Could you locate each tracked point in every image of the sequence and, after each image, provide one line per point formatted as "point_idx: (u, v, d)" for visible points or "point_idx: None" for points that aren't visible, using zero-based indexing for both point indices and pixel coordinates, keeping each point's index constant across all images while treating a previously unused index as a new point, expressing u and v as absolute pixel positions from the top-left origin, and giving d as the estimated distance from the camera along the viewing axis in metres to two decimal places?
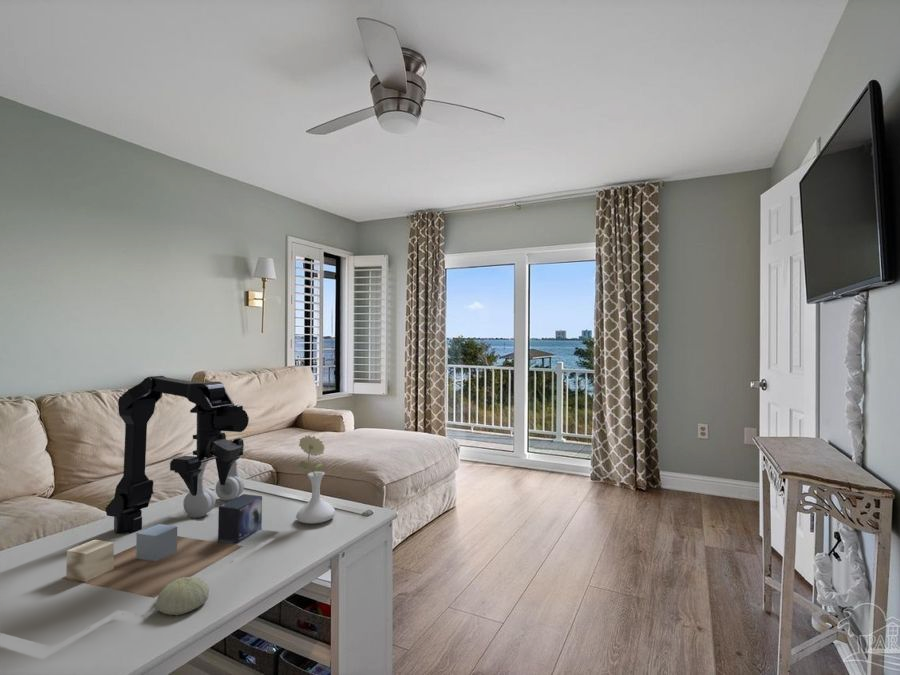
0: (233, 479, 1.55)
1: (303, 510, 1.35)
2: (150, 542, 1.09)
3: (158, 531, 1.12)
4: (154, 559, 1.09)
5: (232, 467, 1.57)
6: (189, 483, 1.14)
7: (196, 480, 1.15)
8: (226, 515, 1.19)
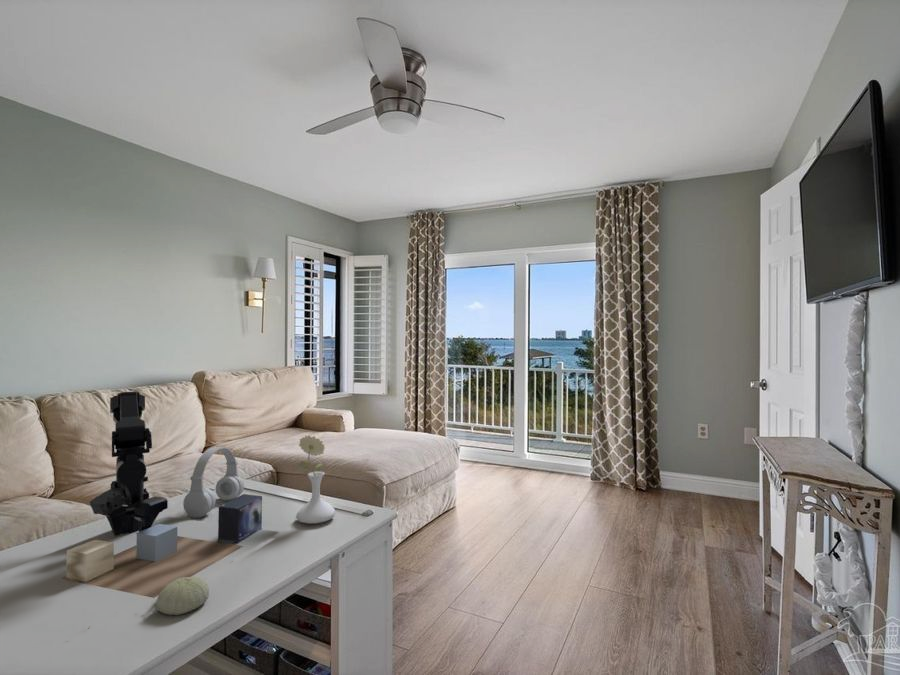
0: (233, 479, 1.55)
1: (303, 510, 1.35)
2: (150, 542, 1.09)
3: (158, 531, 1.12)
4: (154, 559, 1.09)
5: (232, 467, 1.57)
6: None
7: (110, 521, 1.15)
8: (226, 515, 1.19)
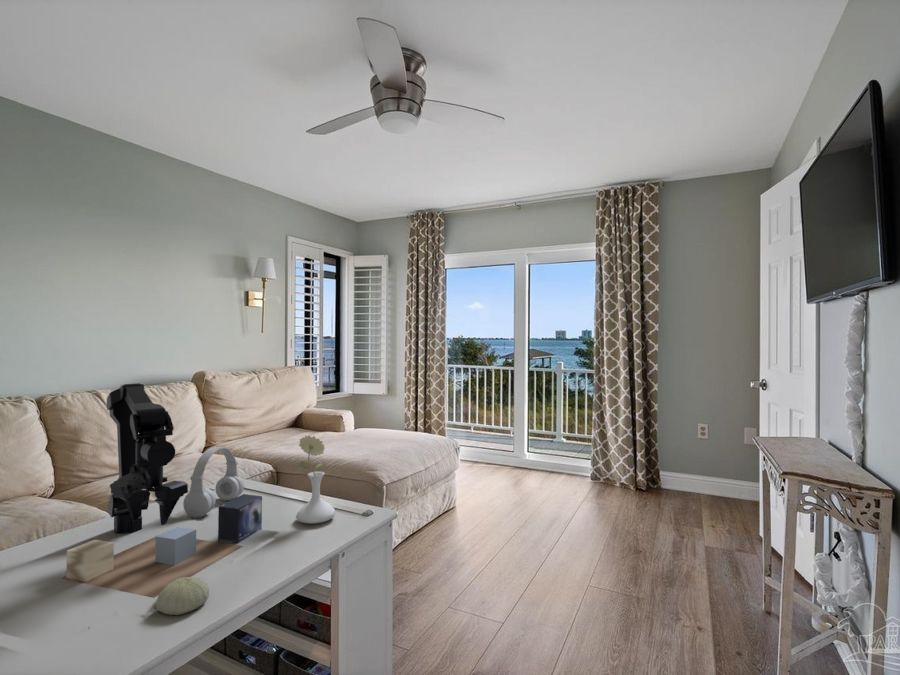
0: (233, 479, 1.55)
1: (303, 510, 1.35)
2: (169, 557, 1.07)
3: (184, 552, 1.09)
4: (156, 560, 1.08)
5: (232, 467, 1.57)
6: None
7: (128, 505, 1.14)
8: (226, 515, 1.19)
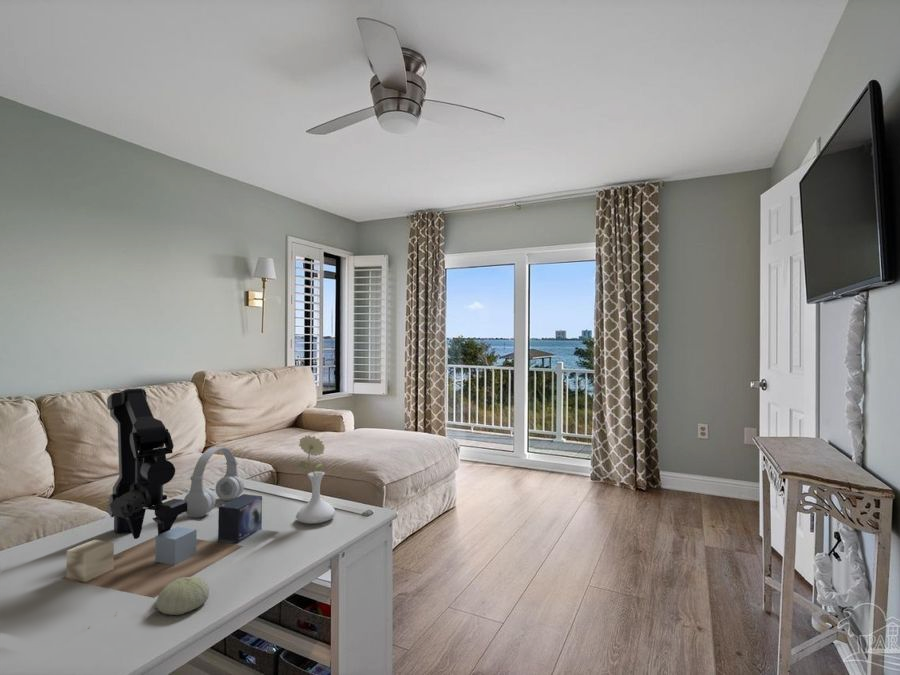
0: (233, 479, 1.55)
1: (303, 510, 1.35)
2: (169, 557, 1.07)
3: (184, 552, 1.09)
4: (156, 560, 1.08)
5: (232, 467, 1.57)
6: None
7: (130, 523, 1.13)
8: (226, 515, 1.19)
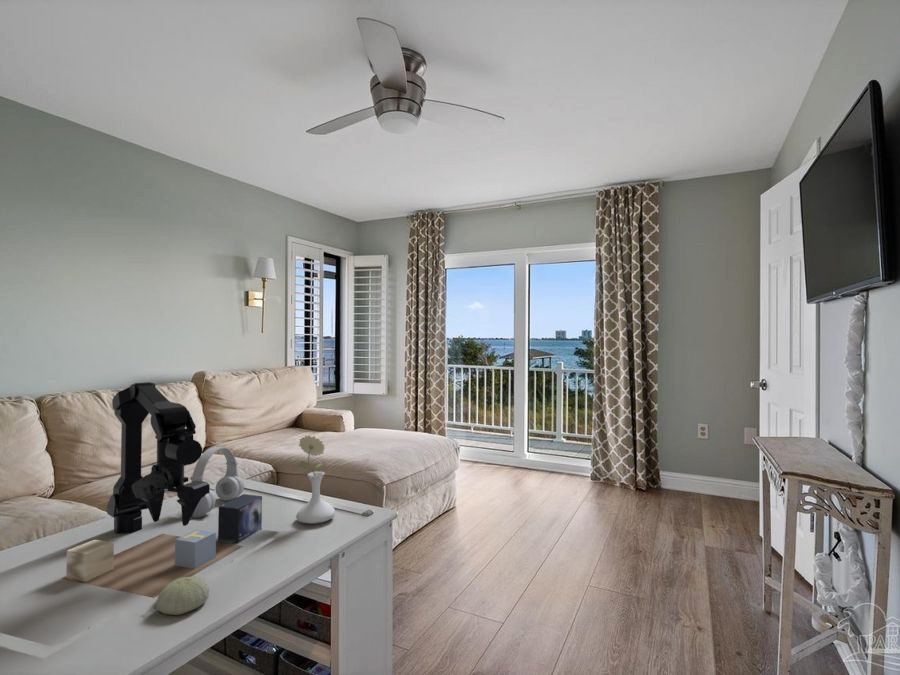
0: (233, 479, 1.55)
1: (303, 510, 1.35)
2: (180, 559, 1.06)
3: None
4: (176, 541, 1.07)
5: (232, 467, 1.57)
6: None
7: (149, 506, 1.12)
8: (226, 515, 1.19)
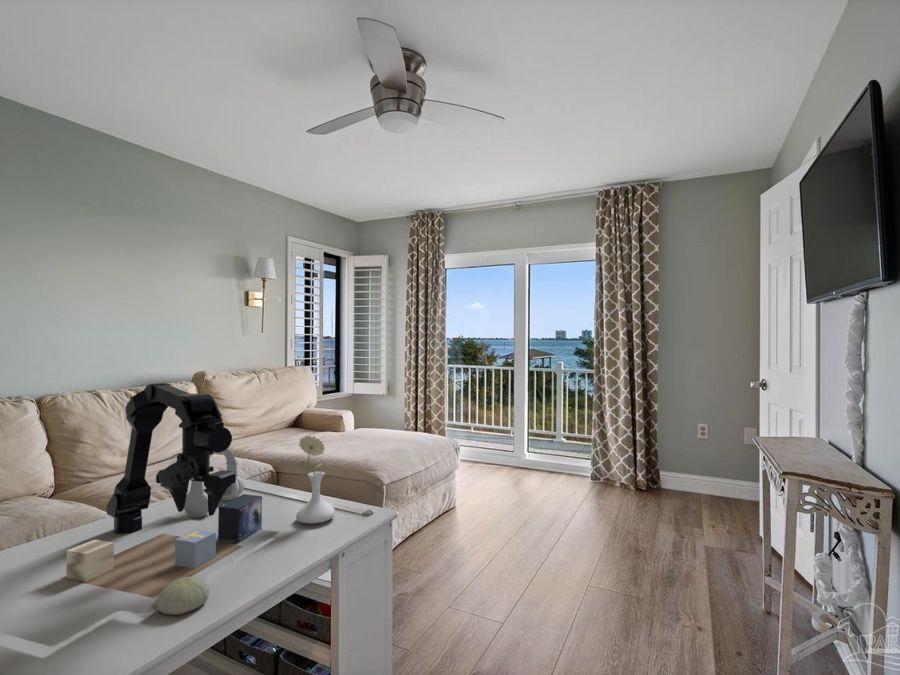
0: None
1: (303, 510, 1.35)
2: (180, 559, 1.06)
3: None
4: (176, 541, 1.07)
5: (232, 467, 1.57)
6: None
7: (174, 496, 1.09)
8: (226, 515, 1.19)
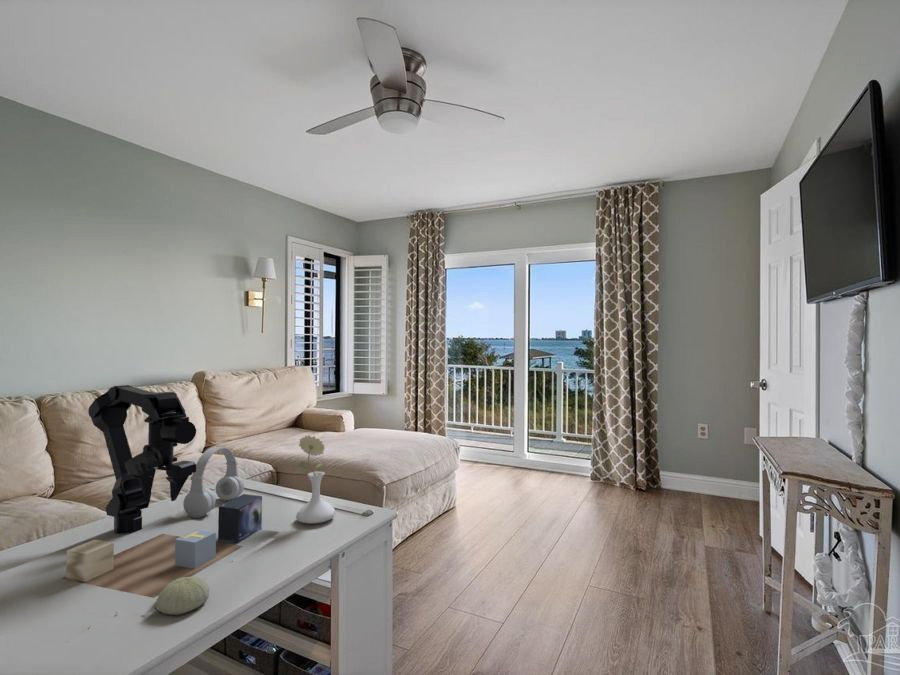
0: (233, 479, 1.55)
1: (303, 510, 1.35)
2: (180, 559, 1.06)
3: None
4: (176, 541, 1.07)
5: (232, 467, 1.57)
6: None
7: (141, 482, 1.22)
8: (226, 515, 1.19)
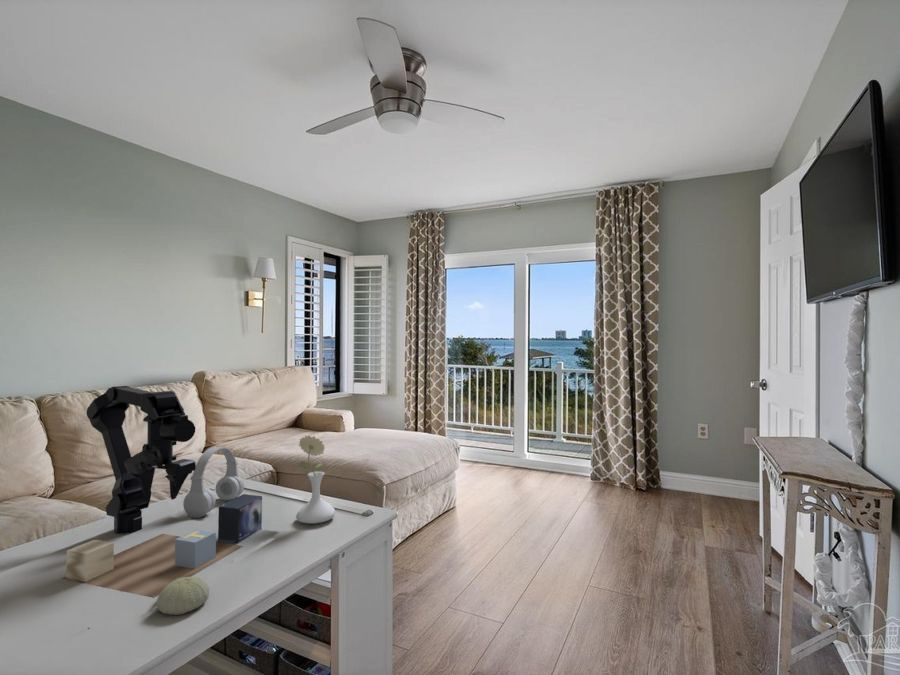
0: (233, 479, 1.55)
1: (303, 510, 1.35)
2: (180, 559, 1.06)
3: None
4: (176, 541, 1.07)
5: (232, 467, 1.57)
6: None
7: (141, 482, 1.22)
8: (226, 515, 1.19)
